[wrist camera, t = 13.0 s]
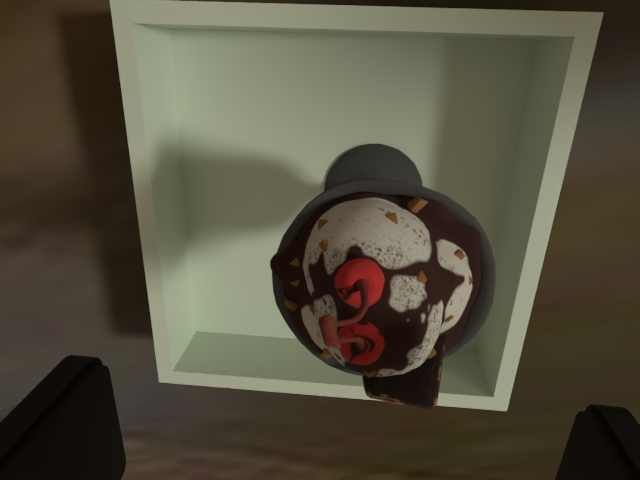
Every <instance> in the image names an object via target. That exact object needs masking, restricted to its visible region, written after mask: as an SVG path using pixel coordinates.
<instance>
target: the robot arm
mask: <svg viewBox="0 0 640 480" xmlns="http://www.w3.org/2000/svg"><path fill="white" fill-rule="evenodd" d="M125 465H126V457H125V452H124V447H123V441H122V436H121V431H120V425H119V420H118V415H117V409H116V404H115V399H114V393H113V388H112V383H111V377H110V372H109V369H108V367H107V366H104V365H103V364H102V361H101V360H100V359H99V358H96V357H87V356H76V355H70V356H67V357H66V358H64V359H63V360H62V361H61V362H60V363H59V364H58V365H57V366H56V367H55V368H54V369H53V370H52V371H51V372H50V373H49V374H48V375H47V376H46V377H45V378H44V379H43V380H42V381H41V382H40V383H39V384H38V385H37V386H36V387H35V388H34V389H33V390H32V391H31V392H30V393H29V394H28V395H27V396H26V397H25V398H24V399H23V400H22V401H21V402H20V403H19V404H18V405H17V406H16V407H15V408H14V409H13V410H12V411H11V412H10V413H9V414H8V415H7V416H6V417H5V418H4V419H3V420H2V421H1V422H0V480H121V478H122V476H123V473H124V470H125ZM555 480H640V425H639V424H638V422H637V421H636V420H635V418H634V417H633V415H632V414H631V413H630V412H629V411H628V410H627V409H625V408H623V407H615V406H604V405H594V404H593V405H589V406H588V407H587V408H586V410H585V412H583V411H580V412H579V413H577V415H576V418H575V421H574V424H573V427H572V430H571V433H570V436H569V439H568V442H567V445H566V448H565V451H564V454H563V457H562V460H561V463H560V467H559V470H558V473H557V476H556V479H555Z"/></svg>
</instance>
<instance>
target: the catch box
mask: <svg viewBox="0 0 640 480" xmlns="http://www.w3.org/2000/svg"><path fill="white" fill-rule="evenodd" d="M110 7H111V15H112V23H113V31H114V38H115V46H116V54H117V61H118V69H119V77H120V85H121V92H122V100H123V108H124V115H125V123H126V131H127V139H128V146H129V154H130V162H131V169H132V177H133V185H134V192H135V200H136V208H137V216H138V223H139V231H140V239H141V246H142V254H143V262H144V270H145V277H146V285H147V293H148V300H149V308H150V316H151V323H152V331H153V339H154V347H155V354H156V362H157V370H158V377H159V382H163V383H175V384H187V385H199V386H211V387H223V388H235V389H247V390H259V391H271V392H283V393H295V394H307V395H319V396H331V397H343V398H355V399H367V400H378V399H373V398H370V397H368V396H366V393H365V390H364V386H363V379H362V376H359V375H355V374H350V373H346V372H344V371H341V370H339V369H336V368H333V367H331V366H328V365H327V364H326V363H324V362H323V361H321V360H320V359H319V358H317V357H316V356H315V355H313V354H312V353H311V352H310V351H309V350H308V349H307V348H306V347H305V346H304V345H302V344H301V343H300V342H299V340H298V339H297V338H296V336H295V335H294V334H293V332H292V331H291V330H290V328H289V327H288V325H287V323H286V322H285V320H284V319H283V317H282V315H281V313H280V311H279V309H278V307H277V305H276V302H275V297H274V293H273V284H272V270H271V267H270V260H271V258H272V257H273V256H274V255H275V254H276V253H277V250H278V248H279V245H280V242H281V240H282V237H283V235H284V234H285V232H286V231H287V229H288V228H289V226H290V225H291V223H292V222H293V220H294V219H295V218H296V216H297V215H298V214H299V213H300V212H301V211H302V209H303V208H304V207H305V206H306V205H307V204H308V203H309V202H310V201H312V200H313V199H314V198H315V197H317V196H318V195H319V194H321V193H322V192H323V191H324V186H325V182H326V178H327V175H328V173H329V170H330V168H331V167H332V166H333V165H334V163H335V162H336V161H337V160H338V159H339V158H340V157H341V156H342V155H343V154H344V153H346V152H348V151H349V150H351V149H353V148H356V147H358V146H360V145H367V144H383V145H387V146H391V147H393V148H396V149H398V150H400V151H401V152H403V153H404V154H405V155H407V156H408V157H409V158H410V159H411V160H412V161H413V162H414V164H415V165H416V167H417V169H418V171H419V173H420V176H421V179H422V185H423V187H426V188H429V189H431V190H434V191H436V192H439V193H442V194H444V195H446V196H448V197H449V198H451V199H452V200H454V201H455V202H457V203H458V204H459V205H461V206H462V207H464V208H465V209H466V210H467V211H468V212H469V213H471V214H472V215H473V216H474V217H475V218H476V219H477V221H478V222H479V224H480V225H481V227H482V228H483V230H484V231H485V233H486V235H487V238H488V240H489V242H490V245H491V248H492V252H493V256H494V260H495V273H496V284H495V292H494V300H493V305H492V307H491V309H490V311H489V314H488V316H487V318H486V321H485V322H484V324H483V325H482V327H481V328H480V330H479V331H478V333H477V334H476V336H475V337H474V338H473V339H472V340H471V341H469V342H468V343H467V344H466V345H465V346H463V347H462V348H461V349H460V350H458V351H456V352H455V353H453V354H451V355H450V356H448V357H446V358H444V359H443V363H442V373H441V381H440V388H439V395H438V401H437V405H438V406H450V407H462V408H474V409H486V410H498V411H507V408H508V404H509V400H510V396H511V392H512V388H513V384H514V380H515V375H516V371H517V367H518V363H519V359H520V355H521V351H522V347H523V342H524V338H525V334H526V330H527V326H528V322H529V318H530V314H531V310H532V305H533V301H534V297H535V293H536V289H537V285H538V281H539V277H540V273H541V268H542V264H543V260H544V256H545V252H546V248H547V244H548V240H549V236H550V231H551V227H552V223H553V219H554V215H555V211H556V207H557V203H558V198H559V194H560V190H561V186H562V182H563V178H564V174H565V170H566V166H567V161H568V157H569V153H570V149H571V145H572V141H573V137H574V133H575V129H576V124H577V120H578V116H579V112H580V108H581V104H582V100H583V96H584V91H585V87H586V83H587V79H588V75H589V71H590V67H591V63H592V59H593V54H594V50H595V46H596V42H597V38H598V34H599V30H600V26H601V22H602V17H603V13H604V12H573V11H536V10H499V9H462V8H426V7H389V6H352V5H315V4H278V3H241V2H204V1H168V0H110ZM379 401H383V400H379Z"/></svg>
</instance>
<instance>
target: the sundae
mask: <svg viewBox="0 0 640 480" xmlns="http://www.w3.org/2000/svg"><path fill="white" fill-rule="evenodd" d="M270 267H271V270H272V284H273V293H274V297H275V302H276V305H277V307H278V309H279V311H280V313H281V315H282V317H283V319H284V320H285V322H286V323H287V325H288V327H289V328H290V330H291V331H292V332H293V334H294V335H295V336H296V338H297V339H298V340H299V342H300V343H301V344H302V345H304V346H305V347H306V348H307V349H308V350H309V351H310V352H311V353H312V354H313V355H315V356H316V357H317V358H319V359H320V360H321V361H323V362H324V363H326V364H327V365H328V366H331V367H333V368H336V369H339V370H341V371H344V372H346V373H350V374H355V375H359V376H362V379H363V386H364V390H365V393H366V396H368V397H370V398H373V399H378V400H383V401H386V402H390V403H394V404H400V405H408V406H415V407H419V408H423V409H428V410H431V409H432V408H434V407H435V406H437V401H438V395H439V388H440V381H441V373H442V363H443V359H444V358H446V357H448V356H450V355H451V354H453V353H455V352H456V351H458V350H460V349H461V348H462V347H463V346H465V345H466V344H467V343H468V342H469V341H471V340H472V339H473V338H474V337H475V336H476V334H477V333H478V331H479V330H480V328H481V327H482V325H483V324H484V322H485V321H486V318H487V316H488V314H489V311H490V309H491V307H492V305H493V300H494V292H495V284H496V273H495V260H494V256H493V252H492V248H491V245H490V242H489V240H488V238H487V235H486V233H485V231H484V230H483V228H482V227H481V225H480V224H479V222H478V221H477V219H476V218H475V217H474V216H473V215H472V214H471V213H469V212H468V211H467V210H466V209H465V208H464V207H462V206H461V205H459V204H458V203H457V202H455V201H454V200H452V199H451V198H449V197H448V196H446V195H444V194H442V193H439V192H436V191H434V190H431V189H429V188H426V187H423V185H422V179H421V176H420V173H419V171H418V169H417V167H416V165H415V164H414V162H413V161H412V160H411V159H410V158H409V157H408V156H407V155H405V154H404V153H403V152H401V151H400V150H398V149H396V148H393V147H391V146H387V145H383V144H367V145H360V146H358V147H356V148H353V149H351V150H349V151H348V152H346V153H344V154H343V155H342V156H341V157H340V158H339V159H338V160H337V161H336V162H335V163H334V165H333V166H332V167H331V168H330V170H329V173H328V175H327V178H326V182H325V186H324V191H323V192H322V193H321V194H319V195H318V196H317V197H315V198H314V199H313V200H312V201H310V202H309V203H308V204H307V205H306V206H305V207H304V208H303V209H302V211H301V212H300V213H299V214H298V215H297V216H296V218H295V219H294V220H293V222H292V223H291V225H290V226H289V228H288V229H287V231H286V232H285V234H284V235H283V237H282V240H281V242H280V245H279V248H278V250H277V253H276V254H275V255H274V256H273V257H272V258H271V260H270Z"/></svg>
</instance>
